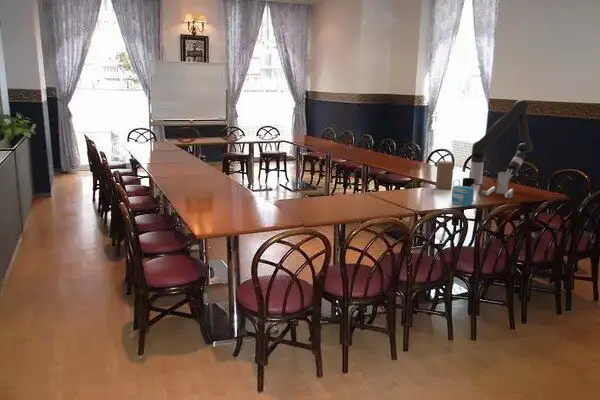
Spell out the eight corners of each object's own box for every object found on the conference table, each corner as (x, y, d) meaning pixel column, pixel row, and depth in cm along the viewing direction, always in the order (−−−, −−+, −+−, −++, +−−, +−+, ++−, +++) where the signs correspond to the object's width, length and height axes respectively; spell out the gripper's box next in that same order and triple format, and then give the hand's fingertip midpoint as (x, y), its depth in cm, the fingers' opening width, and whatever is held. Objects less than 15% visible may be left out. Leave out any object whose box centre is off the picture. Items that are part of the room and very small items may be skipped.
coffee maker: (511, 192, 356) (514, 168, 352) (511, 195, 349) (514, 169, 345) (489, 190, 362) (492, 166, 358) (488, 193, 355) (491, 168, 351)
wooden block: (448, 187, 374) (451, 161, 369) (451, 190, 364) (453, 163, 360) (435, 187, 375) (437, 161, 370) (437, 189, 365) (439, 162, 361)
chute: (481, 194, 349) (481, 191, 349) (488, 189, 367) (488, 186, 367) (511, 198, 339) (511, 194, 338) (517, 192, 357) (517, 189, 356)
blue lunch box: (472, 202, 323) (474, 180, 320) (450, 200, 330) (452, 178, 327) (475, 200, 330) (477, 178, 327) (453, 197, 337) (455, 176, 334)
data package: (451, 204, 320) (452, 185, 317) (454, 202, 323) (455, 184, 320) (468, 207, 312) (470, 188, 309) (471, 205, 315) (473, 187, 312)
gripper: (505, 159, 372) (495, 177, 367) (522, 162, 362) (511, 180, 357) (508, 166, 376) (498, 183, 372) (525, 168, 366) (514, 186, 362)
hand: (504, 181), depth 364 cm, fingers closed
